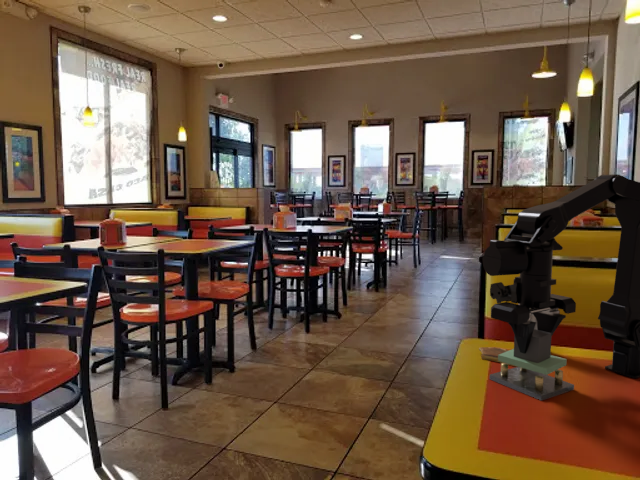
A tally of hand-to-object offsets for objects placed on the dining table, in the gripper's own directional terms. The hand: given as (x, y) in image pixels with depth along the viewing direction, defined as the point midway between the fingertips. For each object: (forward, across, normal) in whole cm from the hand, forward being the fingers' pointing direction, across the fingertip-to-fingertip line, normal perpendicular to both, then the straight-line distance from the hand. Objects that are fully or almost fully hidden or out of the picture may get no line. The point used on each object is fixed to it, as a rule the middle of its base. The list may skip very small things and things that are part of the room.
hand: (532, 350), depth 98 cm
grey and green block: (+2, 0, 0) cm, 2 cm away
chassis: (+7, 0, 0) cm, 7 cm away
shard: (+8, -8, -13) cm, 17 cm away
